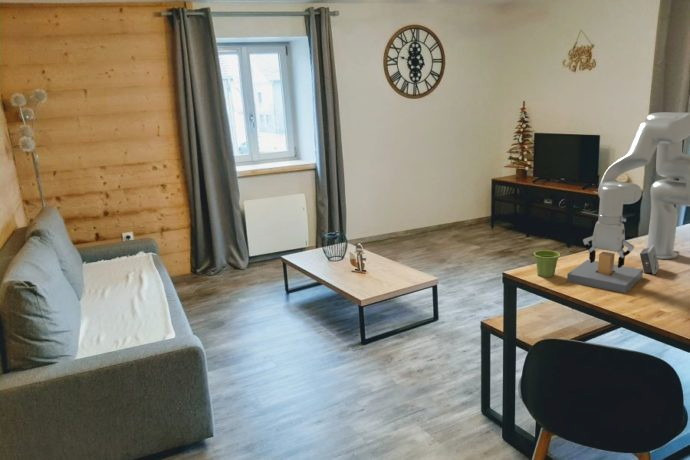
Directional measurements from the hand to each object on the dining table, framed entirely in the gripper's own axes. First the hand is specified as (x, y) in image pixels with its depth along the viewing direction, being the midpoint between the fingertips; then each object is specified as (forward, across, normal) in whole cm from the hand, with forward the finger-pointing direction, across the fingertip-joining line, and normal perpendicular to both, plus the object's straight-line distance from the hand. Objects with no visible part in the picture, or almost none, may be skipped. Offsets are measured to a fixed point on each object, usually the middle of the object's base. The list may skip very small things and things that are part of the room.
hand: (606, 264), depth 192 cm
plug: (+6, 0, 0) cm, 6 cm away
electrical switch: (+6, -10, -19) cm, 22 cm away
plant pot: (+6, +19, +8) cm, 22 cm away
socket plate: (+6, 0, 0) cm, 6 cm away
